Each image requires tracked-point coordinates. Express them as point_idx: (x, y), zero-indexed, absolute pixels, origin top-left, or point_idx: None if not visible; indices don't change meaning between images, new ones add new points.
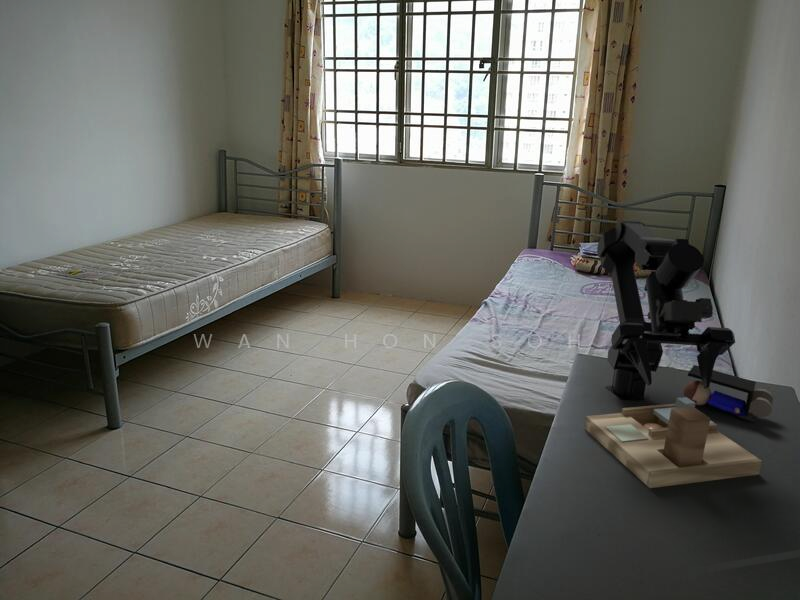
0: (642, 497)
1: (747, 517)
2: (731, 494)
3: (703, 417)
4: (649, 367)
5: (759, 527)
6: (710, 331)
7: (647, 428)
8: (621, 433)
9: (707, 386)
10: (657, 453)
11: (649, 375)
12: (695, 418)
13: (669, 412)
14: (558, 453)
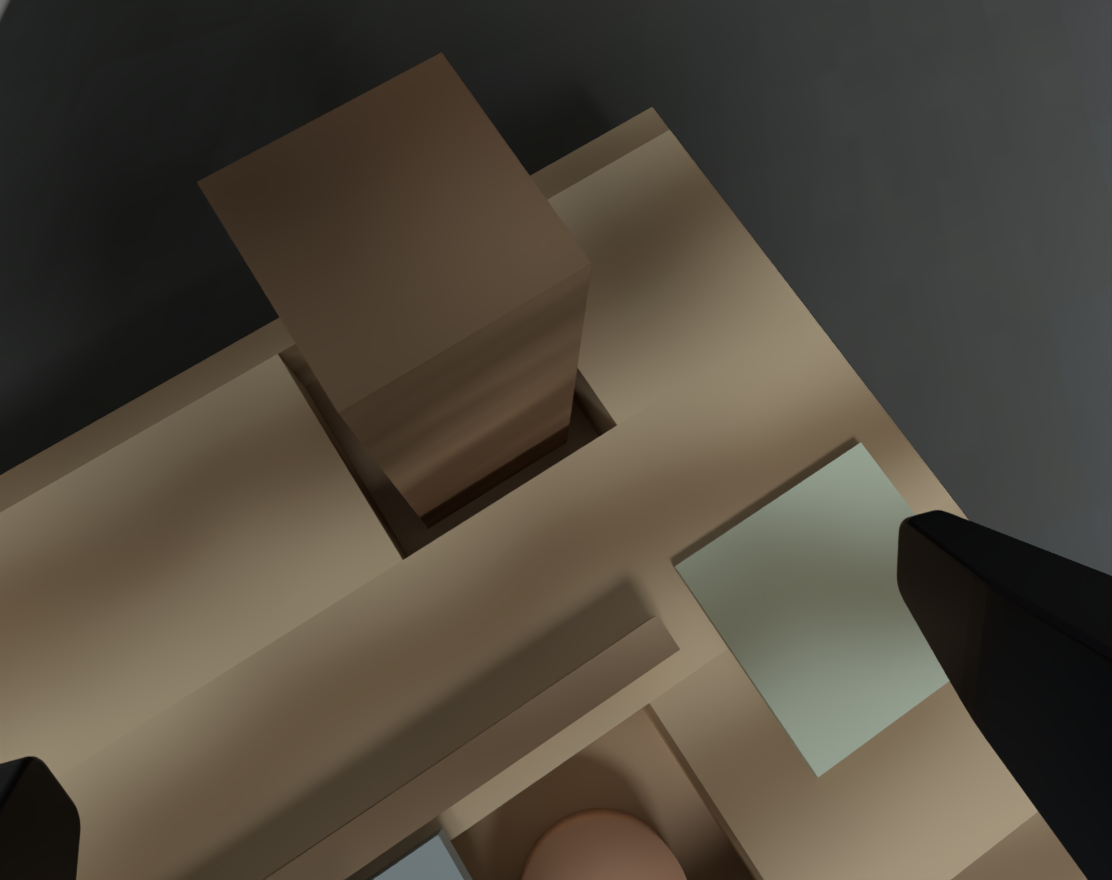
0: (671, 112)
1: (165, 118)
2: (190, 304)
3: (270, 169)
4: (1109, 637)
5: (131, 57)
6: None
7: (663, 877)
8: (875, 565)
9: (24, 757)
10: (612, 371)
11: (1005, 556)
12: (360, 120)
13: None
14: None
